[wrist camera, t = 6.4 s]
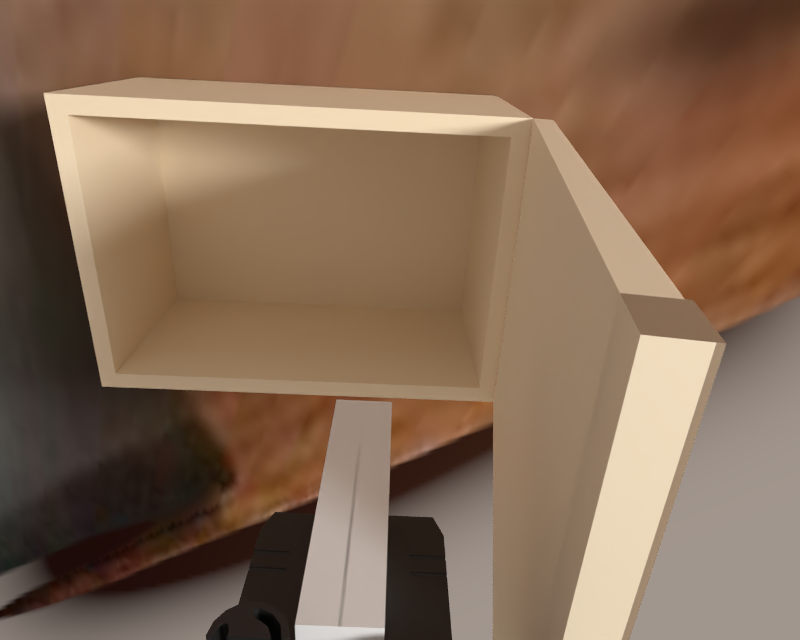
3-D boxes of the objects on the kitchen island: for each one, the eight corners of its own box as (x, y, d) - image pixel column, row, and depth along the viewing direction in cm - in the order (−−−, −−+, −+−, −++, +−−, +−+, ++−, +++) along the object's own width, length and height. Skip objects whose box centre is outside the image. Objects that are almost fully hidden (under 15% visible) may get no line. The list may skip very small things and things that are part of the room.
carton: (170, 305, 39) (102, 386, 30) (139, 77, 33) (43, 92, 24) (471, 318, 40) (493, 401, 31) (496, 95, 33) (532, 118, 24)
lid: (492, 918, 13) (534, 927, 12) (640, 334, 6) (726, 343, 6) (493, 402, 30) (511, 404, 30) (533, 118, 24) (555, 120, 24)
